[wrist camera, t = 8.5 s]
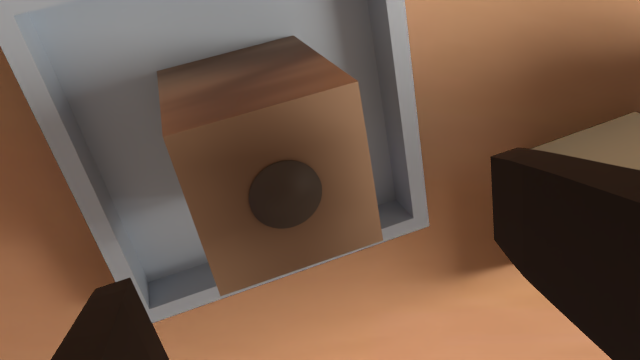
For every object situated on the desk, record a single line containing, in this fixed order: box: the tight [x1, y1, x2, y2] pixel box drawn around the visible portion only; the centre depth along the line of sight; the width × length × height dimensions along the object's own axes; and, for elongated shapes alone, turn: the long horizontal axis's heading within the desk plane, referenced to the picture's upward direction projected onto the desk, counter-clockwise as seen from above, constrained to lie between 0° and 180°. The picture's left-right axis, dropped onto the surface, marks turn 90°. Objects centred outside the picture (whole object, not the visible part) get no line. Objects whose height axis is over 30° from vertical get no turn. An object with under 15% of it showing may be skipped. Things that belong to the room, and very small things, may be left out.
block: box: [157, 35, 383, 296], centre depth 15 cm, size 4×4×6 cm
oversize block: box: [531, 112, 640, 170], centre depth 22 cm, size 6×6×5 cm
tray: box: [0, 0, 429, 323], centre depth 17 cm, size 11×11×2 cm
